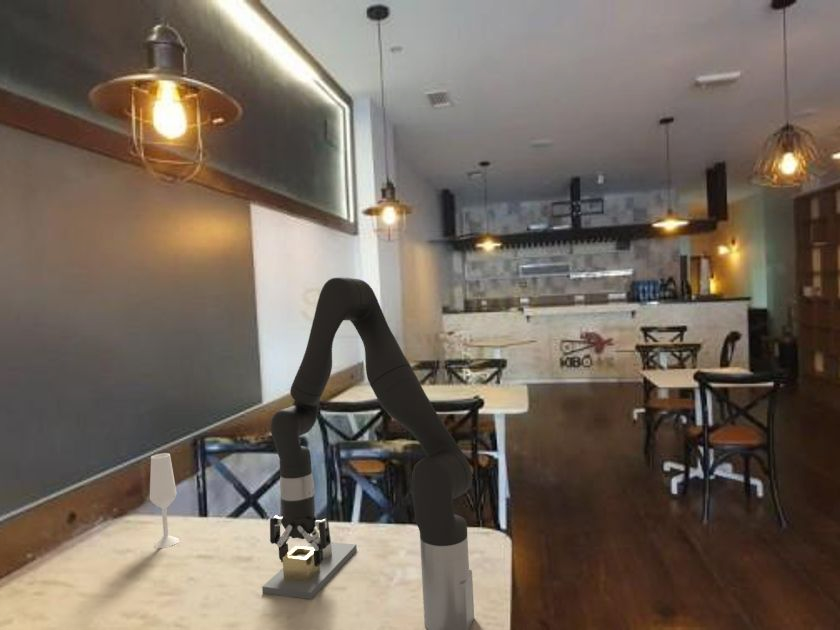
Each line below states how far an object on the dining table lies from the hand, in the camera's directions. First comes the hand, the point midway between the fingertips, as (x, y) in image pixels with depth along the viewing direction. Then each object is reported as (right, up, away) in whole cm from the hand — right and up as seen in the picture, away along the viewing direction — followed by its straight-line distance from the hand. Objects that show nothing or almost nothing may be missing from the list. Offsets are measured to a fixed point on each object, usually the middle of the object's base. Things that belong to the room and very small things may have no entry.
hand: (301, 563), depth 132 cm
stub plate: (+2, -4, +5) cm, 6 cm away
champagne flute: (-42, -6, +25) cm, 49 cm away
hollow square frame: (0, -3, 0) cm, 3 cm away
